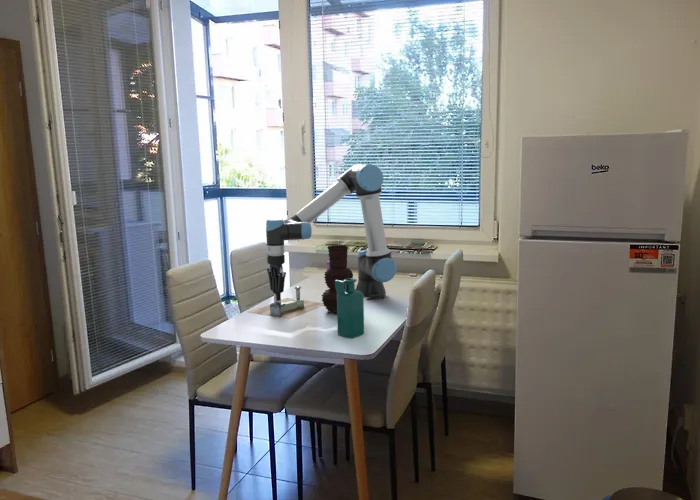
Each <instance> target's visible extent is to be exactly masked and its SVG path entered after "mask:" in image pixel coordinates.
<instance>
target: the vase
mask: <svg viewBox="0 0 700 500" xmlns="http://www.w3.org/2000/svg"><path fill="white" fill-rule="evenodd" d="M348 249H349V245H346V244H345V245H344V244H338V245H337V244H335V245H333V244H332V245H329V246H327V251H328V261H329V262H330V263H329V265H330V268H329V269H327V268H326V271H325V272H324V277H323V279H324V283H325V284H326V287H327V289H326V290H324V292H322V294H321V302H322V303H323V304H324V305H323V307H325V309H326V310H327V312H329V314H330V313H331V314H334V315H337V292H336V289H335V280H340V281H343V280H344V279H347V278H353V279H354V274H353V272H352V270H351V269H350V268H349V267H348V268H347V263H348ZM344 290H345V284H344Z"/></svg>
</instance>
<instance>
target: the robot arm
mask: <svg viewBox="0 0 700 500" xmlns="http://www.w3.org/2000/svg"><path fill="white" fill-rule="evenodd" d="M383 183H384V174H383V172H382V170H381V169H380V168H379V167H378V166H377V165H375V164H373V163H372V164H371V163H357V164H354V165H353V166H351V167H350V168H348V169H347V170H346V171H345V172H344V173H342V174H341V175H339V177H337V179H336V182H335V183H333V184H332V185H331V186H330V187H328V188H327V189H325V190H324V191H322V192H321V193H320V194H319V195H317V196H316V197H315V198H313V200H311V201H310V202H308V203H307V204H306V205H305V206H304V207H303V208H301V209H300V210H298V212H297V211H296V213H295V214H294V215H292V216H291V217H290V218H286V219H285V220H284V219H283V218H280V217H279V218H269V219H267V220H266V224H265V227H266V228H265V233H266V235H265V236H266V238H265V239H266V248H265V249H266V254H267V255H266V260H267V262H266V263H267V264H268V265H269V267H268V268H267V269H266V271H267V274H268V283H269V287H270V288H269V289H270V291H272V293H273V303H274V302H279V303H281V300H282V298H281V293H284V292H285V290H284V289H285V280H286V275H287V272H286V271H284V269H283V268H284V267H283V264H285V261H286V258H285V241H293V240H294V241H296V240H297V241H298V240H303V241H304V240H308V239H311V237H312V233H313V231H312V225H311V223H313V222H314V221H316V219H318V218H319V217H320V216H321V215H322V214H324V213H325V212H327V210H329V209H330V208H331V207H333V206H334V205H335V204H337V203H338V202H339V201H340V200H342V199H343V198H344V197H346V196H350V195H352V194H353V193H355V196H356V197H357V198H358V199H359V200H360V205H361V212H362V218H363V224H364V225H363V226H364V230H365V237H366V243H367V244H366V245H367V249H363V250H359V251H358V253H357V270H358V271H357V273H358V274H357V275H358V276H357V278H358V279H357V285H356V287H355V290H358V291H361V292H362V293H363V296H364V298H366V299H365V300H366V301H367V300H369V301H371V300H374V301H375V300H380V299H384V298H386V296H387V291H386V287H385V286H384V283H387V282H390V281H391V280H393V279H394V277H395V276H396V274H397V269H398V266H397V264H396V262H395V261H394V259H393V257H392V252H391V251H392V250H391V249H389V248H388V246H387V241H386V239H387V238H386V233H385V225H384V219H383V214H382V207H381V200H380V199H381V198H380V196H381V194H382V192H383V191H382V185H383Z"/></svg>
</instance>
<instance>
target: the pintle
mask: <svg viewBox="0 0 700 500" xmlns="http://www.w3.org/2000/svg"><path fill="white" fill-rule="evenodd" d="M294 289H295V299H296V300H300V299H301V289H302V286H300V285H299V286H298V285H297V286H294Z"/></svg>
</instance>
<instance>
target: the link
mask: <svg viewBox="0 0 700 500" xmlns="http://www.w3.org/2000/svg"><path fill="white" fill-rule="evenodd" d="M293 299H294V300H292V301H288V302H284V303H285V306H284V307H281V312H284V311H288V310H292V309H296V308H302V307H304V300H305V299H303V298H300V300H296V298H293Z"/></svg>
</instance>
